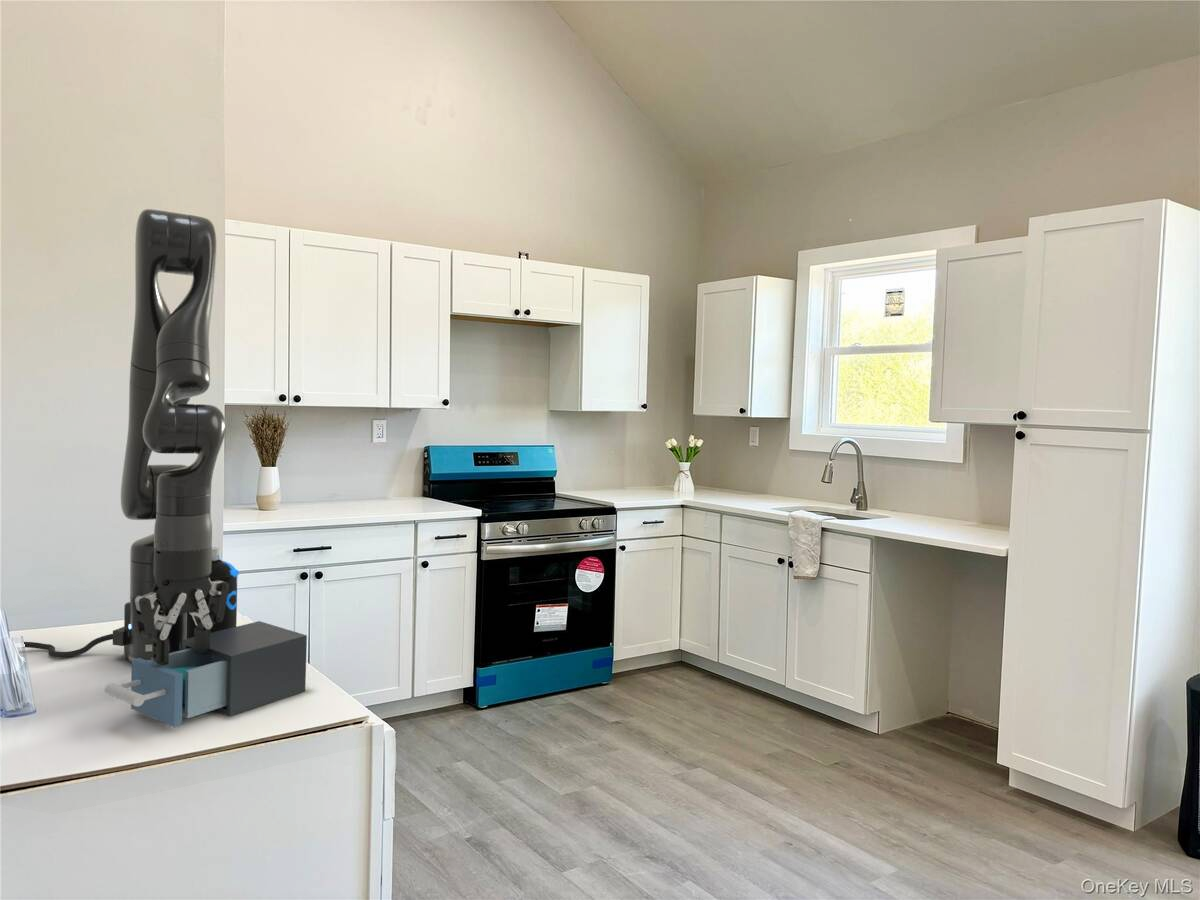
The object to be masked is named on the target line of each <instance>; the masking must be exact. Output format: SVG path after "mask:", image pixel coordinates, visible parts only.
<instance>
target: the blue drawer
mask: <svg viewBox="0 0 1200 900" xmlns="http://www.w3.org/2000/svg"><path fill="white" fill-rule="evenodd" d="M191 666H195V667H196V668H193V669H189V670H186V671H185V703H184V704H182V685H183V674H181V673H179V672H176V671H173V670H171V669H173V668H182V667H191ZM130 671H131V672H130V673H131V676H130V677H131V680H130V681H127V682H124V683H120V684H117V683H114V682H109V683H108V684H107V685H106V686H105V687H104V693H105V694H106V695H108V696H111V697H112V698H114V699H117V700H119V701H121V702H125V703H127V704H129V705H130V710H133V711H135V712H137V713H140V714H142V715H145V716H147V717H149V718H151V719H153V720H156V721H159V722H161V723H163V724H165V725H167V726H170V727H172V728H177V727H179V726H182V725H183V718H186V719H191V718H193V717H196V716H200V715H203V714H205V713H208V712H211V711H215V709H218V708H221V707H224V706H227V674H228V660H226V659H223V658H220V657H218V656H215V655H212V654H209V653H207V654H204V655H200V654H197V653H195V651H194V648H189V649H185V650H181V651H177V652H173V653H169V663H168V664H167V665H163V666H162V665H159V664H157V663H156V662H155V661H154V660H153V658H151V662H149V661H147V660H144V659H141V658H137V659H133V660H132V662H131V670H130ZM129 688H130V689H129Z"/></svg>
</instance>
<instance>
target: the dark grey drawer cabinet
mask: <svg viewBox="0 0 1200 900" xmlns="http://www.w3.org/2000/svg"><path fill="white" fill-rule="evenodd" d="M307 640H308V635H306V634H303V633H300V632H297V631H294V630H290V629H287V628H284V627H282V626H281V627H280V626H277V625H274V624H271V623H267V622H264V621H262V620H261V621H260V620H257V621H254V622H251V623H245V624H242V625H238V626H237V625H236V627H233V628H229V629H225V630H221V631H217V632H213V633H210V648H209V649H208V651H207V653H209V654H212V655H215V656H218V657H220V658H223V659H226V660H228V674H227V706H224V707H221V708H218V709H215V710H214V711H215V712H216V713H220V714H222V715H225V716H228V717H233V716H236V715H239V714H242V713H245V712H247V711H251V710H254V709H257V708H259V707H260V708H261V707H263V706H266V705H269V704H271V703H275V702H277V701H281V700H283V699H286V698H289V697H292V696H295V695H298V694H301V693H305V692H306V682H307V681H306V679H307V677H306V676H307V645H308V643H307V642H308V641H307ZM189 648H194V637H192V638H188V639H184V640H183V650H185V649H189Z"/></svg>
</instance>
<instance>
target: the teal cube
mask: <svg viewBox="0 0 1200 900" xmlns="http://www.w3.org/2000/svg"><path fill="white" fill-rule="evenodd" d="M193 668H196V667H195V666H191V667H182V668H173V669H171V670H173V671H176V672H179V673H181V674H183V685H182V704H184V703H185V671H186V670H189V669H193Z"/></svg>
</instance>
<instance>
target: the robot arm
mask: <svg viewBox="0 0 1200 900" xmlns="http://www.w3.org/2000/svg"><path fill="white" fill-rule="evenodd" d="M134 242H135V243H134V247H135V248H134V250H135V251H134V254H135V255H134V259H135V260H134V262H135V263H134V264H135V265H134V267H135V269H134V271H135V272H134V273H135V277H134V278H135V280H134V282H135V287H134V288H135V290H134V292H135V298H134V299H135V303H134V304H135V305H134V307H135V308H134V321H133V333H132V342H131V343H132V344H131V346H132V347H131V355H130V364H129V365H130V367H129V388H128V389H129V392H128V425H127V426H128V427H127V435H126V436H127V437H126V445H125V452H124V460H123V469H122V476H121V485H120V507H121V511H122V513H123V515H124V517H125V518H126V519H128V520H130V521H131V520H132V521H152V520H153V521H154V520H155V521H154V522H155V523H154V527H153V533H152V534H149V535H147V536H143V537H142V538H139V539H137V540H135V541H134V542H132V543H131V545H130V549H129V550H130V552H129V553H130V555H129V559H130V560H129V564H130V565H129V579H130V580H129V601H128V602H126V603H125V604H124V611H123V613H124V614H123V615H124V617H123V618H124V619H123V625H124V626H121V627H118V628H116V629H114V630H112V633H109V634H106V635H102V636H99V637H96V638H95V639H92V640H91V641H90V642H89V643H87V644H86V645H85V646H83V647H80V648H78V649H75V650H69V651H56V647H55V646H54V645H53V644H49V643H42V642H36V641H35V642H34V641H23V642H24V644H25V647H24V648H30V649H38V650H44V651H47V653H48V656H50V657H53V658H71V657H77V656H80V655H83V654H85V653H87V652H89V651H90V650H91V649H92V648H94V647H95V646H96V645H98V644H101V643H104V642H107V641H111V640H112V646H118V647H119V646H120V647H123V659H125V660H128V661H129V662H131V663H132V660H133V659H137V658H141V659H144V660H147V661H149V662H151V658H153V660H154V661H155V662H156V663H157V664H159V665H162V666H163V665H167V664H168V663H169V653H173V652H177V651H181V650H183V640H184V639H187V613H190V614H191V615H192V617H193V620H194V622H195V624H196V626H197V628H195V629H194V651H195V653H197V654H200V655H204V654H207V651H208V649H209V648H210V630H211V628H212V626H213V625H214V624H216V623H217V622H218V623H220V622H222V621H223V618H224V613H225V607H226V602H227V597H228V591H229V583H226V582H223V581H219V580H215V581H213V582H211V580H210V578H209V575H210V574H211V567H212V547H213V523H212V522H213V521H212V516H211V515H212V513H211V509H212V507H211V504H212V482H213V476H214V470H215V467H216V464H217V460H218V457H219V453H220V451H221V448H222V445H223V442H224V440H225V435H226V431H227V421H226V417H225V416H224V414H223V411H221V409H220V408H218V406H215V405H212V404H203V403H202V404H201V403H200V404H199V403H196V404H195V403H189V402H190V400H191V398H194V397H198V396H200V395H203V394H204V393H206V392H207V391H208V390H209V388H210V385H211V368H210V366H211V365H210V364H211V363H210V361H211V360H210V325H211V317H212V316H211V315H212V310H213V300H214V291H215V290H214V289H215V278H216V266H217V247H218V246H217V233H216V229H215V226H214V224H213V222H212V221H211V220H210V219H209V218H207V217H203V216H198V215H193V214H187V213H179V212H174V211H167V210H159V209H151V208H146V209H144V210H142V211H141V212H140V213H139V215H138V218H137V221H136V226H135V241H134ZM159 273H165V274H174V275H181V276H190V277H192V280H191V284H190V288H189V290H188V292H187V293H186V294H185V296H184V298H183V299H182V300H181V302H180V303H179V304H178V305H177V307H176V308H175V309H174V310H173V311H172V312H171V311H170V309H169V307H168V304H167V303H166V300H165V298H164V296H163V293H162V290H161V288H160V284H159V278H158V276H159ZM153 452H154V453H157V454H196V455H197V456H196V459H195V460H194V461H193V462H192V463H191V464H190V465H186V464H149V462H150V458H151V456H152V453H153ZM208 593H210V599H209V604H208V606H207V604H206V602H205V598H206V596H207V595H208Z"/></svg>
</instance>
